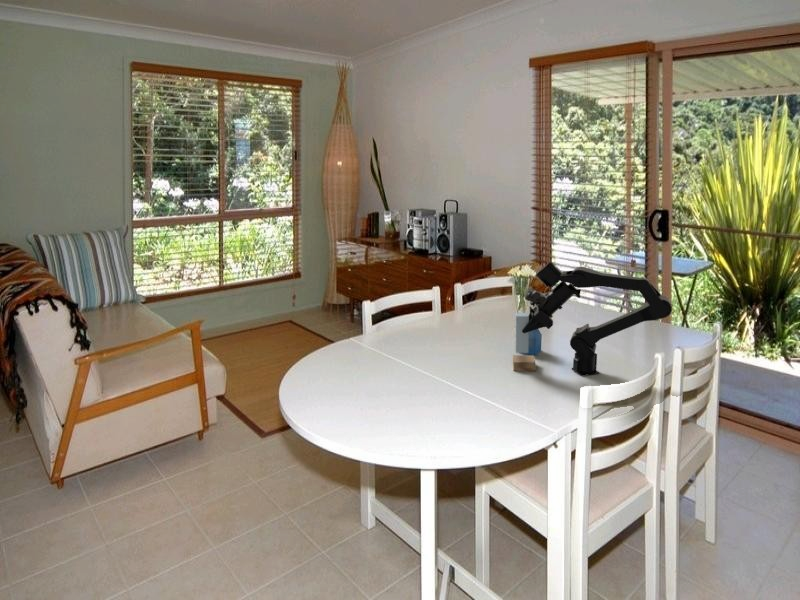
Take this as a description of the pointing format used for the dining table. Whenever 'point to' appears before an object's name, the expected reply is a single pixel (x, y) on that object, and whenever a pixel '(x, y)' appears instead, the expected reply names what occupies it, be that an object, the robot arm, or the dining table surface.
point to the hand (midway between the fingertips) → (522, 330)
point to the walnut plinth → (523, 363)
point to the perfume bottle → (534, 342)
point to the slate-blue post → (521, 333)
